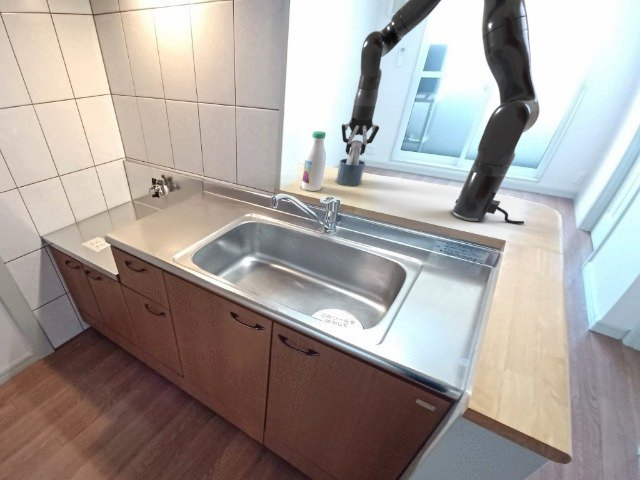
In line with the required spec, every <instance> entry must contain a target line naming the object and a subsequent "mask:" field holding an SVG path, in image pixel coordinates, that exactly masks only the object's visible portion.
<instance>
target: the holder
mask: <svg viewBox="0 0 640 480" xmlns="http://www.w3.org/2000/svg"><path fill="white" fill-rule="evenodd" d="M347 159H348V158H342V159H340V160H339V164H338V170H337V175H336V183H337V184H339V185H341V186H343V187H344V186H345V187H356V186H360V185H361V183H362V178H363V175H364V170H365V166H366V162H365V161H364V160H362V159H359V165H348V164H346V162H347Z"/></svg>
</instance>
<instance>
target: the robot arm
mask: <svg viewBox="0 0 640 480" xmlns="http://www.w3.org/2000/svg"><path fill="white" fill-rule="evenodd" d="M441 2H442V0H407V1H406V2H405V3H404V4H403V5H402V6H401V7H399V9H398V10H397V11H395V13H394V14H393V15H392V17H391V18H390V22H389V23H388V24H387V25H385V27H384V28H382V29H381V30H375V31H372V32H370V33H369V34H368V35H367V36H366V37H365V38H364V41H363V43H362V47H361V51H360V52H361V53H360V74H359V80H358V85H357V89H356V93H355V97H354V100H353V107H352V112H351V118H350V120H349V122H348V123H345V124H344V123H342V124H341V136H342V137H341V138H342V142H343V143H345V144H346V145H345V153H346V155H349V154H350V151H351V142H352V141H353V140H354V138H355V137H356V136H361V137H362V147H361V148H360V153H359V156H363V154H365V152H366V147H367V145H368V144H372V143H373V142H374V140H375V138H376V136H377V133H378V132H379V130H380V126H379V125H378V124H377V125H376V124H374V123H373V118H374V115H375V111H376V106H377V102H378V97H379V89H380V84H381V80H382V74H383V71H382V69H381V61H382V58H383V57H385V56H386V55H388V54H389V53H390V52H391V51H392V50H394V48H395V47H396V46H397V45H398V44H399V43H400V42H401V41H402V40H403V38H404V37H405V36H406V35H408V34H409V33H411V32H412V31H413V30H414V29H415V28H416V27H417V26H419V25H420V24H421V23H422V22H423V21H424V20H426V19H427V18H428V17H429V16H430V15H431V13H432V12H433V11H434V10H435V9H436V8H437V7H438V5H439V4H440V3H441ZM528 19H529V18H528V13H527V7H526V1H525V0H483V11H482V19H481V38H482V46H483V47H482V48H483V52H484V53H483V54H484V58H485V61H486V64H487V66H488V68H489V71H490V73H491V75H492V77H493V78H494V80H495V83H496V85H497V89H498V92H499V105H498V106H497V107H496V108H495V109H494V110H493V112H492V113H491V115H490V116H489V118H488V121H487V123H486V125H485V127H484V130H483V132H482V136H481V138H480V140H479V143H478V145H477V154H476V156H475V159H474V161H473V163H472V166H471V168H470V170H469V172H468V175H467V177H466V178H465V182H464V184H463V186H462V188H461V191H460V193H459V195H458V198H457V199H456V200H455V203H454V204H455V205H454V207H453V208H452V211H451V214H452V215H453V216H454V217H456V218H458V219H461V220H464V221H469V222H479V223H482V222H483V221H484V220H485V218H486V215H487V214H492V215H494V214H495V213H496V211H499V212H500V213H502V214H503V215H504V221H505V222H506V223H509V224H515V225H516V224H519V225H523V224H525V221H524V220H511V219H509V213H508V212H507V210H505V209H503V208H501V207H500V204H501V201H500V200H495V198H496V196H497V193H498V192H499V190H500V187H501V185H502V183H503V182H504V179H505V177H506V175H507V173H508V172H509V169H510V167H511V165H512V163H513V162H514V160H515V158H516V152H515V151H516V148H517V146H518V144H519V141H520V139H521V137H522V135H523V134H524V133H525V132H528V131H529V130H530V129H531V128H533V126H534V125H535V124H536V122H537V121H538V118H539V116H540V112H541V111H540V103H539V99H538V96H537V92H536V88H535V84H534V80H533V73H532V58H531V57H532V56H531V45H530V31H529V30H530V29H529V20H528ZM348 129H350V131H351V132H350V134H349V135H348V138H347V130H348ZM370 130H371V134H370V136H369V137H367V136H368V135H367V133H368V132H369V131H370ZM367 138H368V139H367Z"/></svg>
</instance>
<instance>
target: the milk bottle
mask: <svg viewBox="0 0 640 480" xmlns="http://www.w3.org/2000/svg"><path fill="white" fill-rule="evenodd" d="M311 136H312V137H311V143H310V146H309V148H308V150H307V151H306V153H305V159H304V164H303V172H302V180H301V188H302V189H303V190H305V191H309V192H317V191H320V190H321V189H322V187H323V181H324V175H325V168H326V161H327V152H326V147H325V140H326V131H320V130H315V131H313V132H312V135H311Z"/></svg>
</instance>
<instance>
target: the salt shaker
mask: <svg viewBox="0 0 640 480" xmlns="http://www.w3.org/2000/svg"><path fill="white" fill-rule="evenodd" d="M362 144H363V141H361V140H359V139H356V140H354V139H353V140H352V141H351V147H350V152H349V154H348V155H347V156H348V157H347V158H346V159H347V162H346V164H348V165H359V160H360V150H361V147H362Z"/></svg>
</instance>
